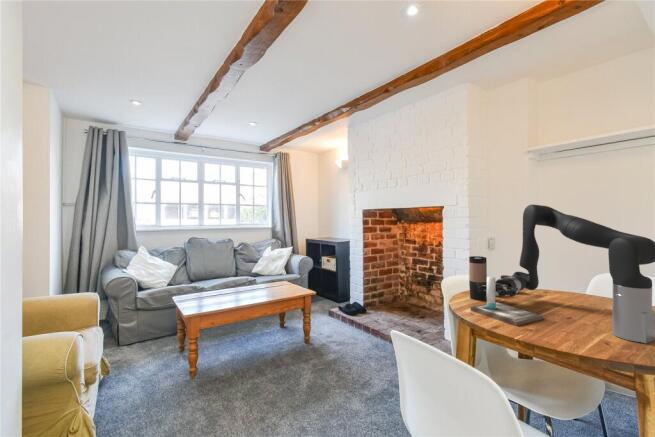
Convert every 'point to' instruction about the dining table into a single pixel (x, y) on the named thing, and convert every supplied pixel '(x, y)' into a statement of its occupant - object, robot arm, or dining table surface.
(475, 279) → the travel mug
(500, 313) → the board
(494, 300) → the cylinder
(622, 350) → the dining table surface
